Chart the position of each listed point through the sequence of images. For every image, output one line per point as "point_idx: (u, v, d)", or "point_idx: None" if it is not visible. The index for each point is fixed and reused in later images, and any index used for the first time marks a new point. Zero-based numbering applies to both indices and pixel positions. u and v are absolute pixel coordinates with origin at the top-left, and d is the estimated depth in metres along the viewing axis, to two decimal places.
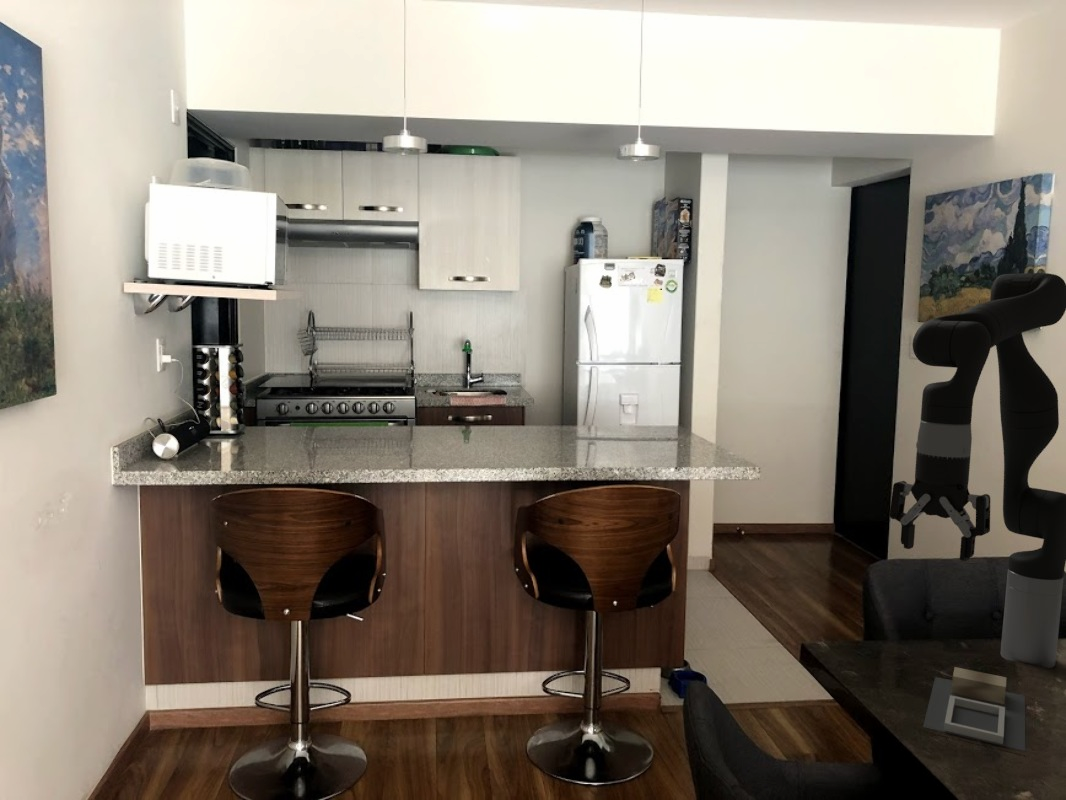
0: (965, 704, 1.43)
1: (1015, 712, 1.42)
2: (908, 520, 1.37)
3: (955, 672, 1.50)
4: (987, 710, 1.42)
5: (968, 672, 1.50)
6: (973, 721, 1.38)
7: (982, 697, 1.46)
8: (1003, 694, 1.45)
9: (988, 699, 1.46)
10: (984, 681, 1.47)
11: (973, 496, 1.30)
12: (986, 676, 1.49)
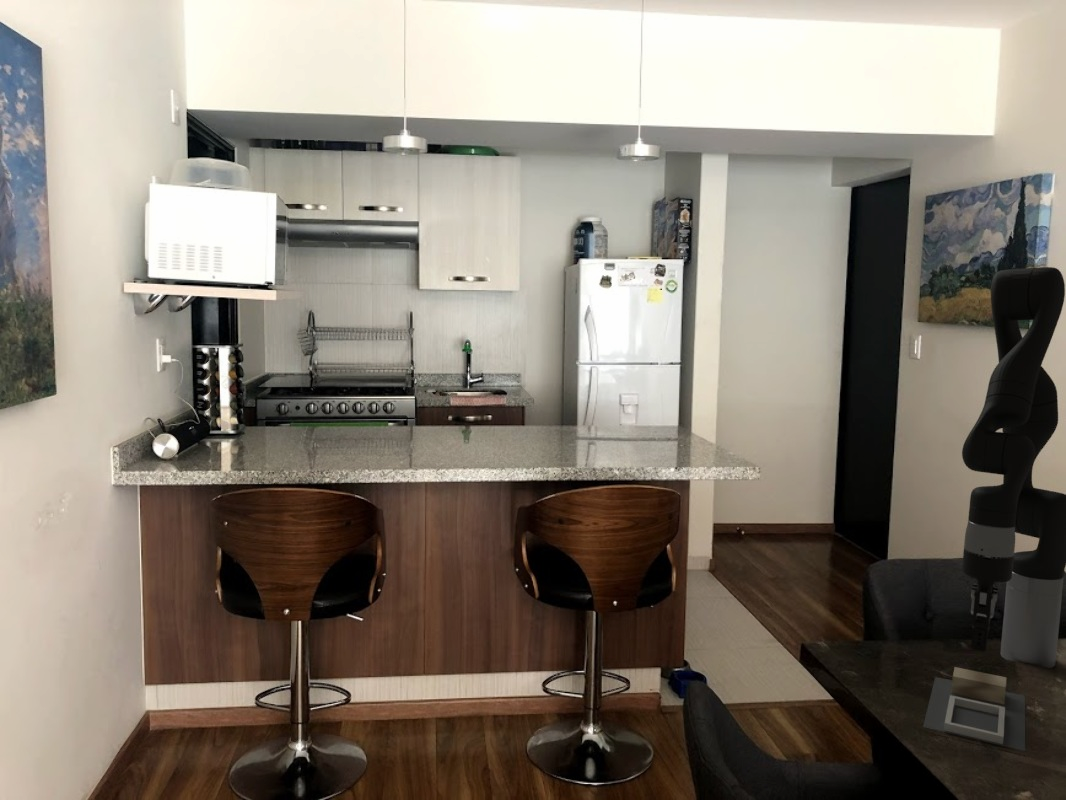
0: (965, 704, 1.43)
1: (1015, 712, 1.42)
2: None
3: (955, 672, 1.50)
4: (987, 710, 1.42)
5: (968, 672, 1.50)
6: (973, 721, 1.38)
7: (982, 697, 1.46)
8: (1003, 694, 1.45)
9: (988, 699, 1.46)
10: (984, 681, 1.47)
11: None
12: (986, 676, 1.49)
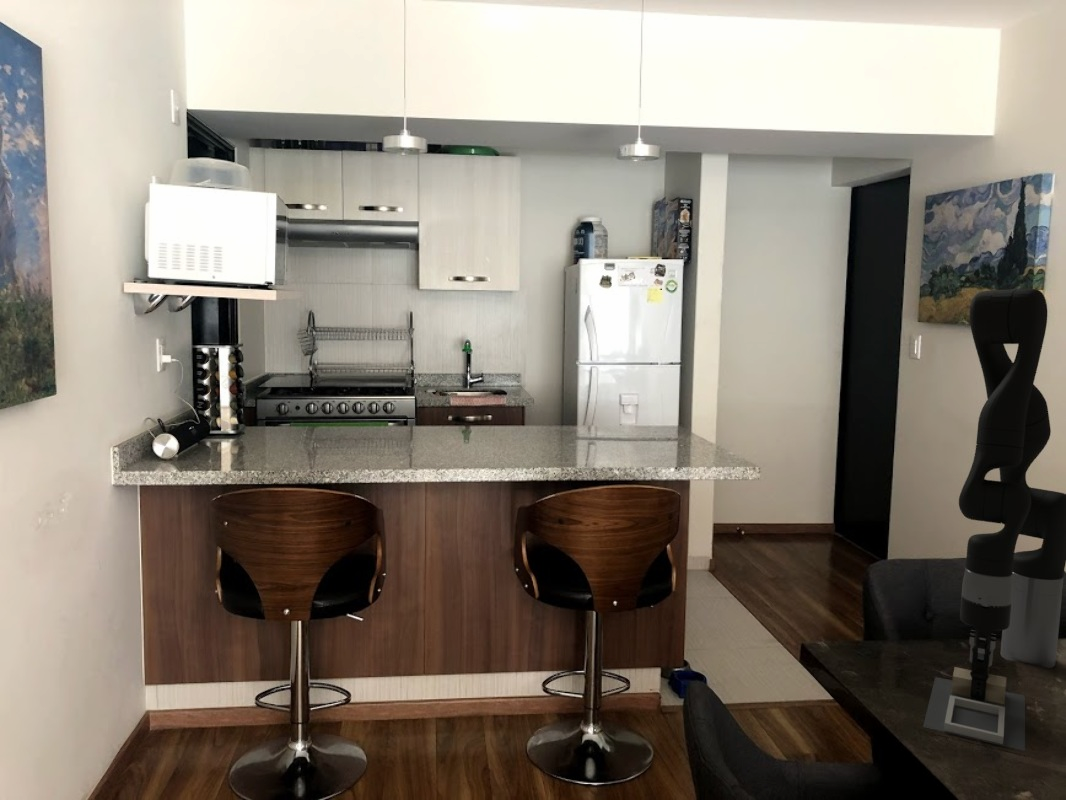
0: (965, 704, 1.43)
1: (1015, 712, 1.42)
2: None
3: (955, 672, 1.50)
4: (987, 710, 1.42)
5: (968, 672, 1.50)
6: (973, 721, 1.38)
7: None
8: (1003, 694, 1.45)
9: (988, 699, 1.46)
10: None
11: None
12: None
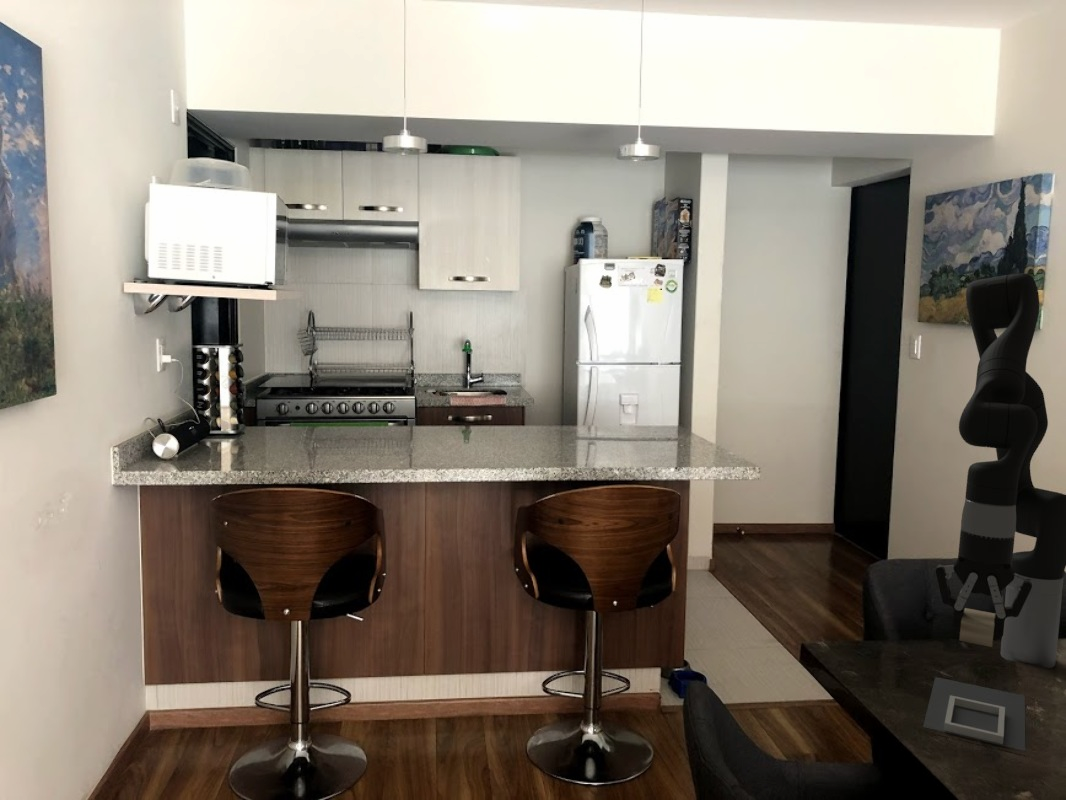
0: (965, 704, 1.43)
1: (1015, 712, 1.42)
2: None
3: (979, 624, 1.33)
4: (987, 710, 1.42)
5: (971, 619, 1.36)
6: (973, 721, 1.38)
7: None
8: None
9: None
10: (991, 618, 1.37)
11: (948, 566, 1.39)
12: (974, 615, 1.38)
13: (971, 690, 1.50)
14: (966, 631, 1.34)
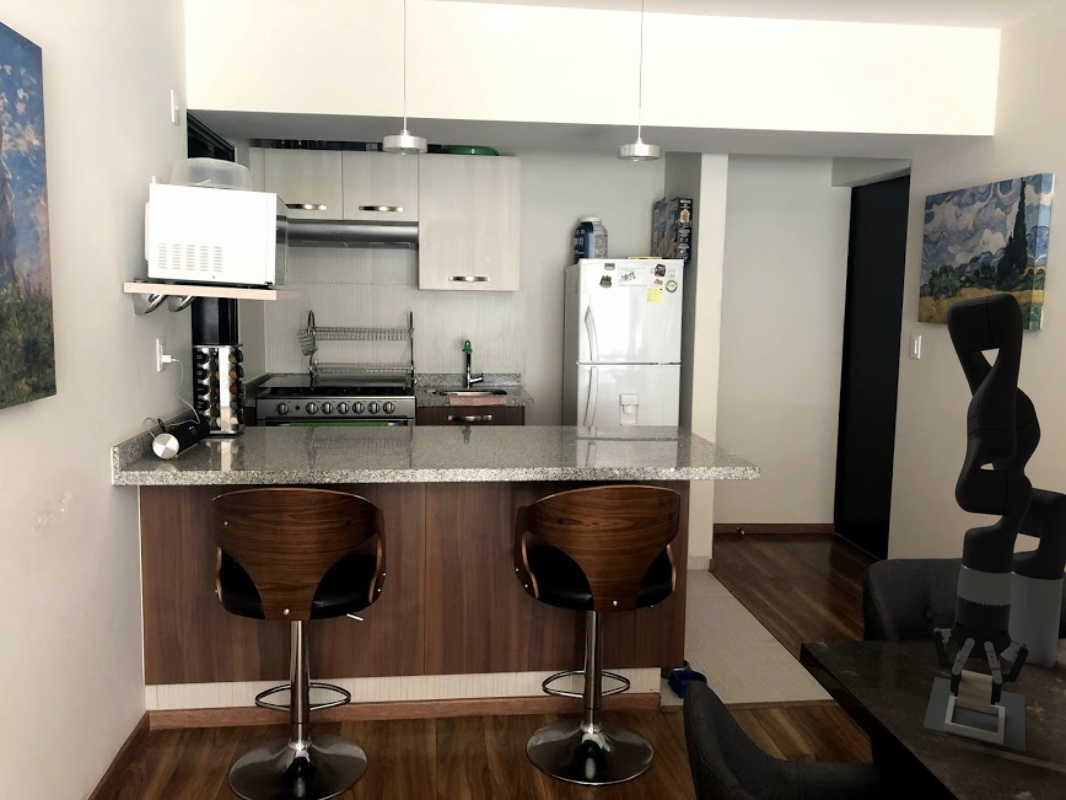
0: None
1: (1015, 712, 1.42)
2: None
3: (977, 690, 1.34)
4: None
5: (968, 684, 1.36)
6: (973, 721, 1.38)
7: None
8: None
9: None
10: (988, 682, 1.37)
11: (945, 629, 1.40)
12: (972, 678, 1.39)
13: None
14: (963, 696, 1.35)
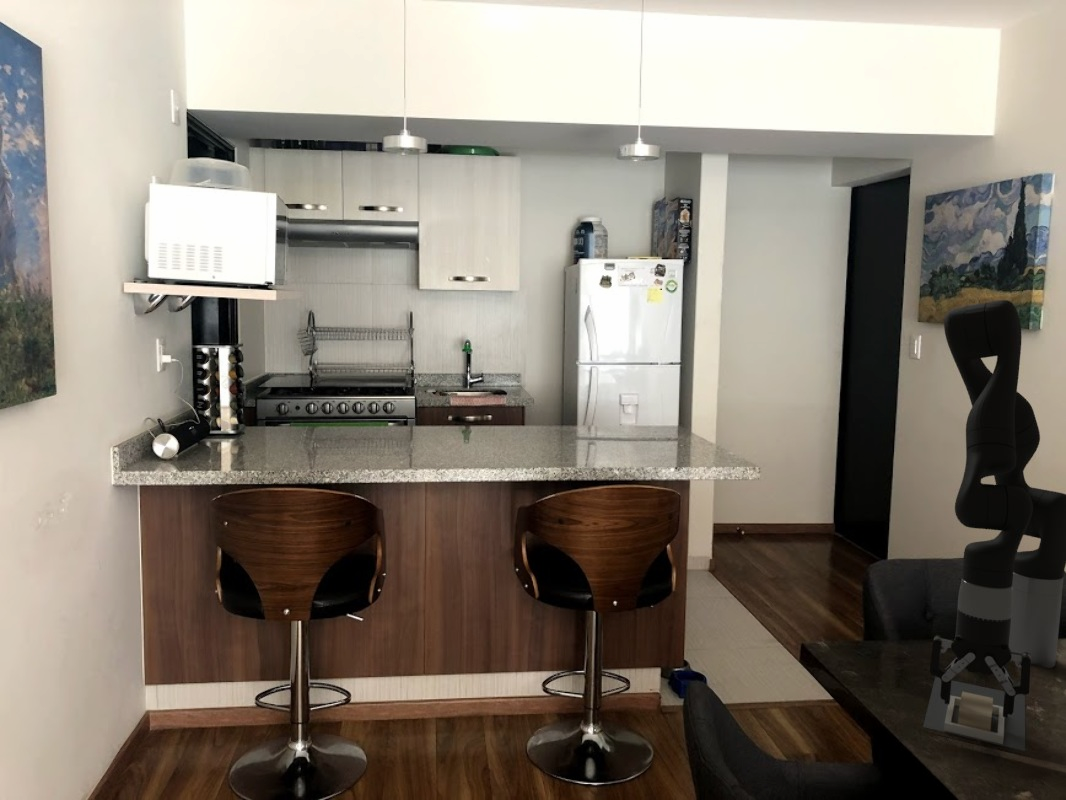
0: None
1: (1015, 712, 1.42)
2: None
3: (977, 713, 1.35)
4: None
5: (969, 707, 1.37)
6: None
7: None
8: None
9: None
10: (988, 704, 1.38)
11: None
12: (972, 700, 1.39)
13: (971, 690, 1.50)
14: (964, 719, 1.35)
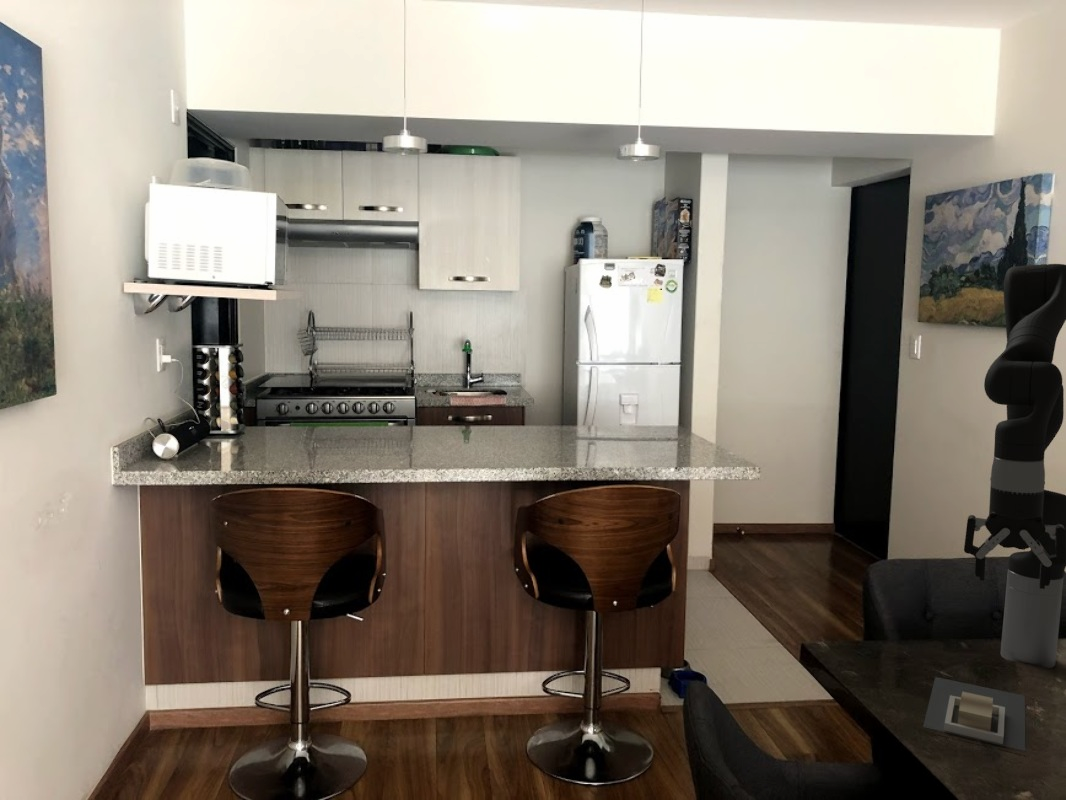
0: None
1: (1015, 712, 1.42)
2: None
3: (977, 713, 1.35)
4: None
5: (969, 707, 1.37)
6: None
7: None
8: None
9: None
10: (988, 704, 1.38)
11: None
12: (972, 700, 1.39)
13: (971, 690, 1.50)
14: (964, 719, 1.35)
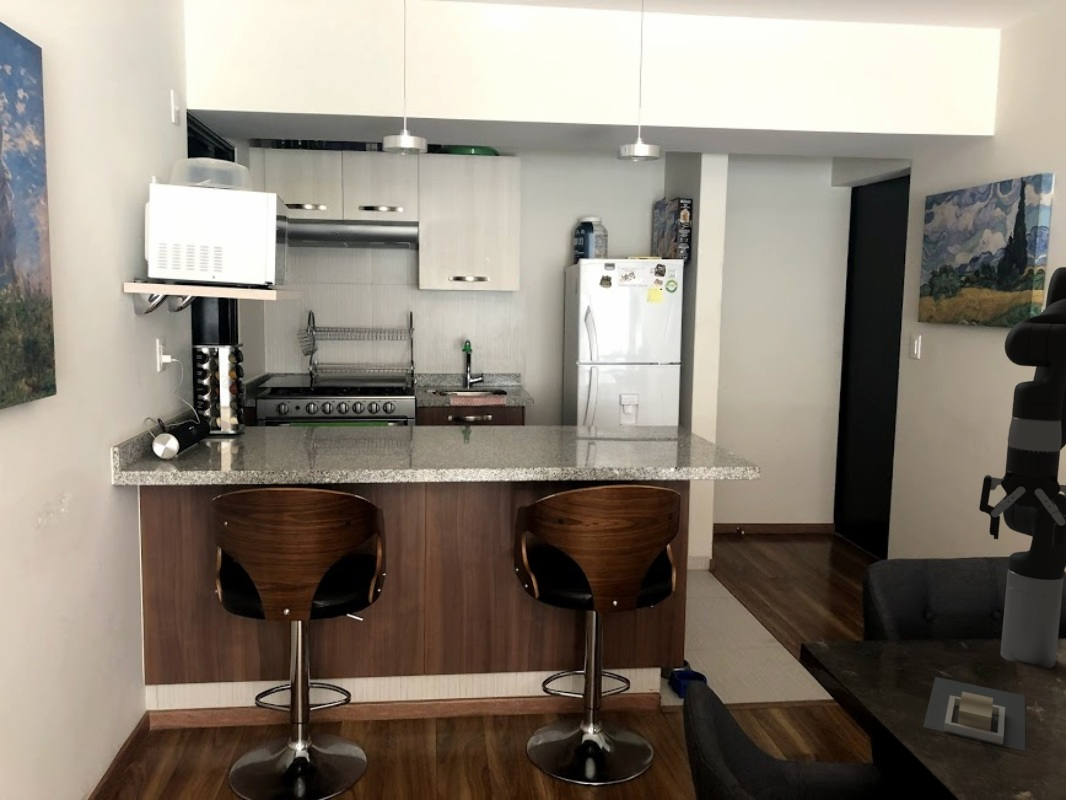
0: None
1: (1015, 712, 1.42)
2: None
3: (977, 713, 1.35)
4: None
5: (969, 707, 1.37)
6: None
7: None
8: None
9: None
10: (988, 704, 1.38)
11: None
12: (972, 700, 1.39)
13: (971, 690, 1.50)
14: (964, 719, 1.35)
